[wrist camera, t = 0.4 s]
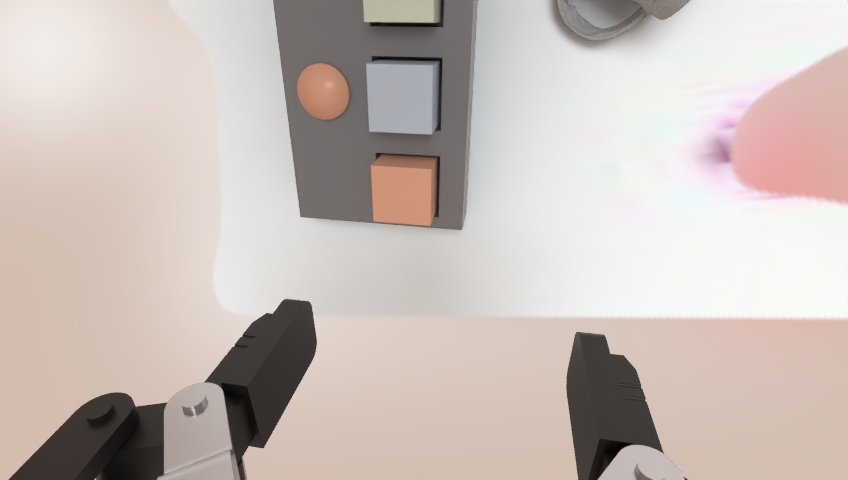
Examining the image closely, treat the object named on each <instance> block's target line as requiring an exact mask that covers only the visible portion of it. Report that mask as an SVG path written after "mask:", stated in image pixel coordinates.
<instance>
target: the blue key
mask: <svg viewBox="0 0 848 480" xmlns="http://www.w3.org/2000/svg"><path fill="white" fill-rule="evenodd" d="M366 73H367V94H368V115H369V132H389V133H409V134H430V135H432V134H433V132H434V131H435V129H436V128H437V126H438V122H439V76H440V61H411V60H376V61H373V62H370V63H367V64H366Z"/></svg>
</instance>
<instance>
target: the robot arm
mask: <svg viewBox="0 0 848 480" xmlns="http://www.w3.org/2000/svg"><path fill="white" fill-rule="evenodd" d="M316 345H317V340H316V333H315V327H314V319H313V312H312V306H311V304H310V302H308V301H300V300H291V299H285V300H283V301H282V302H281V304H280V305H279V306H278V308H277V309H276V310H275V312H274V313H273V314H269V313H266V314H265V315H263V316H262V317H260V318H259V319H257V320H256V321H254V322H253V323H252V324H251V325H250V326H249V328H248V329H247V330H246V331H245V332H244V334H243V336H242V337H240V339H239V340H238V341H237V342H236V344H235V347H232V349H231V350H230V351H229V352H228V354H227V355H226V356H225V357H224V359H223V360H222V361H221V362H220V364H219V365H218V366H217V367H216V369H215V370H214V371H213V372H212V374H211V375H210V376H209V377H208V379H207V380H206V381H205V382H204V383H198V384H194V385H191V386H188V387H186V388H184V389H182V390H181V391H179V392H178V393H177V394H176V395H174V396H173V397H172V398H171V399H170V400H169V402H168V403H161V404H153V405H146V406H138V407H136V406H135V404H134V402H133V400H132V398H131V397H130V396H129V395H128V394H125V393H109V394H105V395H102V396H99V397H97V398H94V399H92V400H90V401H89V402H87V403H86V404H84V405H83V406H81V407H80V408H79V409H78V410H77V411H76V412H75V413H74V414H73V415H72V416H71V417H70V418H69V419H68V420H67V421H66V422H65V423H64V424H63V425H62V426H61V427H60V428H59V429H58V430H57V431H56V432H55V433H54V434H53V435H52V436H51V437H50V438H49V439H48V440H47V441H46V442H45V443H44V444H43V445H42V446H41V447H40V448H39V449H38V450H37V451H36V452H35V453H34V454H33V455H32V456H31V457H30V459H28V461H26V462H25V463H24V464H23V465H22V467H20V469H19V470H18V471H17V472H16V473H15V474H14V475H13V476H12V477H11V478H10V479H9V480H94V479H95V478H96V480H247V476H246V471H245V465H244V460H243V457H242V456H243V455H244V453H245V451H246V450H247V448H248V446H252V447H258V448H264V446H265V445H266V442H267V441H268V439H269V437H270V435H271V434H272V432H273V430H274V428H275V427H276V425H277V423H278V421H279V419H280V418H281V416H282V414H283V412H284V410H285V409H286V407H287V405H288V403H289V401H290V399H291V398H292V396H293V394H294V392H295V391H296V389H297V387H298V385H299V383H300V382H301V380H302V378H303V376H304V374H305V373H306V371H307V369H308V367H309V365H310V364H311V362H312V360H313V358H314V355H315V351H316ZM567 398H568V406H569V413H570V421H571V428H572V435H573V443H574V449H575V457H576V465H577V473H578V480H687V479H686V478H685V477H684V476H683V474H682V472H681V471H680V469H679V468H678V466H677V465H676V464H675V463H674V462H673V461H672V460H671V459H670V458H669V457H667V456H666V455H665V454H664V453H663V450H662V447H661V444H660V441H659V438H658V435H657V432H656V429H655V426H654V423H653V420H652V417H651V414H650V411H649V408H648V405H647V403H646V402H645V396H644V393H643V390H642V389H641V384H640V380H639V377H638V374H637V371H636V369H635V368H634V367H633V366H632V365H631V364H630V362H628V360H627V359H626V358H625V357H624V356H622V355H615V354H610V352H609V348H608V344H607V340H606V337H605V336H604V335H601V334H592V333H582V332H577V333H576V334H575V338H574V343H573V348H572V353H571V357H570V362H569V367H568V372H567Z"/></svg>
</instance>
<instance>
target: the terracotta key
mask: <svg viewBox="0 0 848 480" xmlns="http://www.w3.org/2000/svg"><path fill="white" fill-rule="evenodd" d="M437 168H438V157H428V156H410V155H393V154H381V155H380V157H379V158H378V159H377V160H376V161H375V162H374V163H373V164H372V165H371V179H372V200H373V221H374V222H387V223H399V224H411V225H424V226H431V223H432V221H433V218H434V215H435V213H436V210H437Z"/></svg>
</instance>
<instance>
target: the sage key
mask: <svg viewBox="0 0 848 480" xmlns="http://www.w3.org/2000/svg"><path fill="white" fill-rule="evenodd" d="M363 9H364V22H414V23H437V22H441V0H363Z"/></svg>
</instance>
